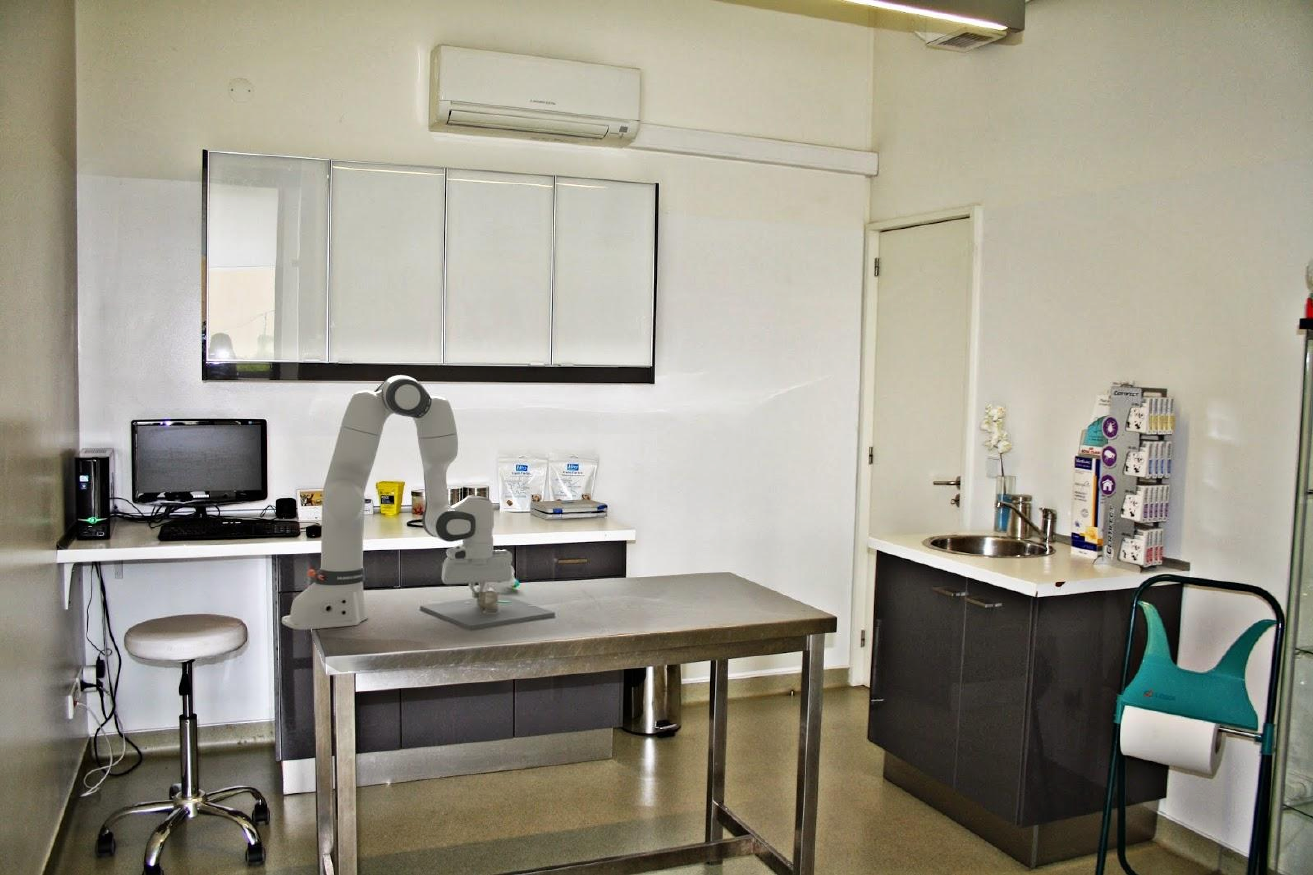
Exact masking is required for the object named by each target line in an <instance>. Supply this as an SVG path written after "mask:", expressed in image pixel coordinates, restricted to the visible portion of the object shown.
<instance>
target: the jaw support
mask: <svg viewBox="0 0 1313 875" xmlns="http://www.w3.org/2000/svg"><path fill="white" fill-rule="evenodd" d="M511 571H512V578H511V579H510V581H505V582H485V586H484V588H483V590H485V591H486V592H488V591H487V590H489V589H492V590H493V592H497V593H499V592H500V591H501V590H503V589H507V588H510V589H513V590H514V589H516V588H517V587H519V586H520V581H519V580H518V579H517V578H516V577H515V572H516V571H515V568H514V567H513V566H512V565H511Z"/></svg>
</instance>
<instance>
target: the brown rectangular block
mask: <svg viewBox="0 0 1313 875" xmlns="http://www.w3.org/2000/svg"><path fill="white" fill-rule="evenodd" d="M478 588H479V586H477V589H476V591H477V590H478ZM498 595H499V592H495V591H485V590H482V591H481V597H480V598H477V603H478V604H480V605H481V606H482V607H484V608H485V612H488V613H494V612H498Z"/></svg>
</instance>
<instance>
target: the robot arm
mask: <svg viewBox="0 0 1313 875" xmlns="http://www.w3.org/2000/svg"><path fill="white" fill-rule="evenodd" d="M393 414H394V415H398V416H402V417H407V418H408V417H409V418H412V420H413V421H414V424H415V426H416V433H417V434H416V435H417V443H418V447H419V448H418V450H419V454H420V457H421V462H422V464H421V465H422V469H423V481H424V493H425V494H424V495H425V506H424V510H423V512H422V517H421V525H422V528H423V530H424V531H425V533H427V535H429V536H431V537H433V538H437V539H439V540H442V541H445V542H447V543H448V542H449V543H453V542H457V541H462V543H461V544H459V545H458V544H457V545H455V546H453V547H450V548H447V549H446V552H445V554H446V556H447V557H446V558H444V561H443V564H442V570H441V580H442V582H443V584H445V585H457V584H458V585H459V584H460V585H461V584H462V585H463V584H468V587H469V589H470V591H471V592H472V593H471V597H472V599H474V598H480V597H481V591H482V590H483V588H484V586H485V582H499V583H500V582H505V581H510V579H511V578H512V571H511V566H512V562H513V554H512V552H511V551H508V549H502V550H500V549H494V535H493V530H494V526H495V523H494V522H495V515H494V505H493V501H492V500H491V499H490V498H487V497H484V496H481V495H475V494H470V495H466V497H465V498H463V499H461V501H459V502H457V503H455V504H453V505H451V503H450V502H449V499H448V498H449V497H448V484H447V472H448V469H449V467H450V465H451V464H452V463H453V462H454V461H455V460H456V458H457V456H458V450H459V441H458V440H459V439H458V432H457V425H456V421H455V416H454V412H453V409H452V406H451V403H450V402H449V400H448V399H446V398H445V397H442V396H439V395H430V394H429V392H427V390H426V389H425V387H424V386H423V384H422V383H420V381H418V380H416V379H415V378H414V377H412V376H409V375H405V374H399V375H398V374H395V375H392V376H390V377H388V378H386V379H385V380H384V381H383V382H382V383H381V384H380V385H379V386H378V387H377V388H376V389H375V390H374V391H371V390H361V391H357V392H356V393H354V394H353V395H352V397H351V399H350V401H349V403H348V404H347V407H346V410H345V412H344V415H343V418H342V420H341V423H340V424H341V426H340V428H339V431H338V435H337V437H336V438H337V439H336V443H335V447H334V450H333V454H332V458H331V461H330V463H329V467H328V471H327V475H326V478H325V482H324V485H323V488H322V492H321V536H320V537H321V541H320V542H321V544H320V551H321V552H320V554H321V555H320V559H321V560H320V568H318V570H317V571H316V570H314V569H308V571H307V576H308V577H310V578H311V579H312V578H313V579H314V580H313V583H312V584H311V585H309V586H308V587H307V588H306V589H305V590H303V591H302V592H301V593H299V594H298V595H296V596H295V597H294V599H293V600H292V604H291V607H290V614H289V615H285V616H283V617H282V618H281V623H282V624H283V625H284V626H286V627H287V628H291V629H294V630H300V631H301V630H304V631H305V630H306V631H307V630H316V629H317V630H318V629H326V628H327V629H328V628H336V627H338V628H339V627H351V626H358V625H359V624H360V623H361V622H363V621H365V620H367V619H368V618H369V616H368V612H367V608H366V603H365V596H364V586H365V567H364V566H363V565H364V564H363V562H364V556H363V555H364V529H365V511H366V510H365V508H366V507H365V506H366V502H365V501H366V500H365V499H366V498H365V491H366V490H367V485H368V482H369V478H370V476H371V472H372V469H373V467H374V465H375V461H376V457H377V453H378V448H379V445H380V442H381V437H382V434H383V430H384V425H385V423H386V421H387V419H388V418H389V417H390V416H391V415H393ZM476 583H477V584H478V587H479V588H478V587H477V589H478V590H477V589H476V590H475V588H474V587H476Z"/></svg>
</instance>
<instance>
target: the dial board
mask: <svg viewBox="0 0 1313 875" xmlns="http://www.w3.org/2000/svg"><path fill="white" fill-rule="evenodd" d="M419 610H420V611H422V612H425V613H427V614H430V615H431V616H434V617H437V618H440V619H442V620H444V621H447V622H449V623H451V624H454V625H456V626H459V627H461V628H464V629H466V630H468V631H472V630H478V629H484V628H490V627H496V626H497V627H498V626H504V625H509V624H511V625H512V624H517V623H521V622H523V623H524V622H529V621H536V620H541V618H543V619H547V618H555V617H556V616H555V615H556V612H554V611H552V610H548V609H546V608H543V607H539V606H537V605H534V604H532V603H528V602H526V601H523V600H519V599H517V598H513V597H510V596H507V595H505V594H498V612H494V613H488V612H485V608H484V607H482V606H481V605H480V604H478V603H477V598H468V599H460V600H455V601H454V600H451V601H444V602H437V603H431V604H430V603H429V604H423V605H420V606H419Z"/></svg>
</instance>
